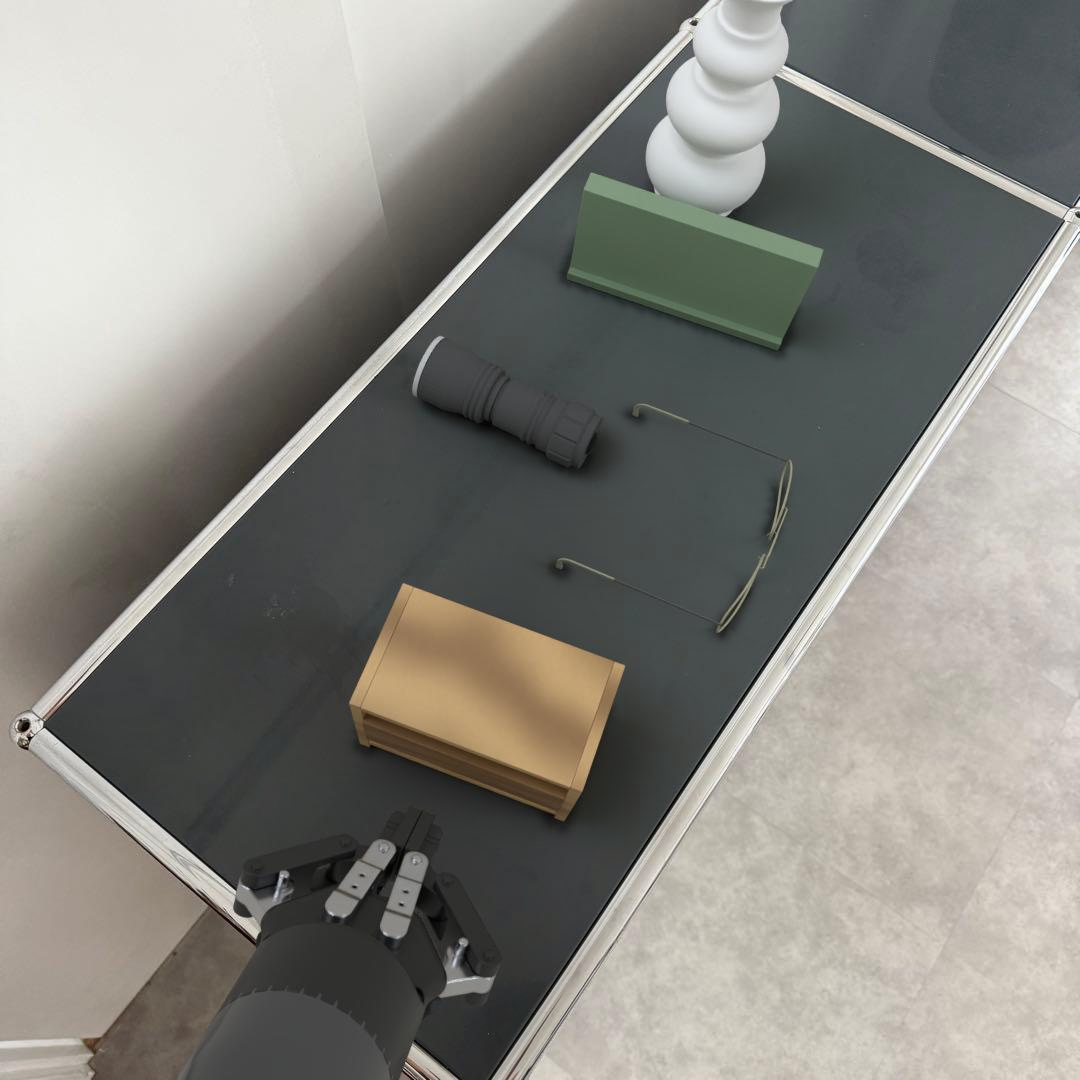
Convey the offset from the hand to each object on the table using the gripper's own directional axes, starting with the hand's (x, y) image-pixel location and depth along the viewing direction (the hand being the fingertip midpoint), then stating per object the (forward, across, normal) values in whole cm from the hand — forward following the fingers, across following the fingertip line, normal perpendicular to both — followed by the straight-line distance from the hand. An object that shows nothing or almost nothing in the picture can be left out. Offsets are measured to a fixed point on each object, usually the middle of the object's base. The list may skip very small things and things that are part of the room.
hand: (418, 823), depth 58 cm
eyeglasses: (+39, -9, -8) cm, 41 cm away
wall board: (+54, -3, -23) cm, 58 cm away
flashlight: (+42, +7, -10) cm, 43 cm away
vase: (+63, -1, -32) cm, 70 cm away
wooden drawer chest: (+24, 0, +7) cm, 25 cm away
